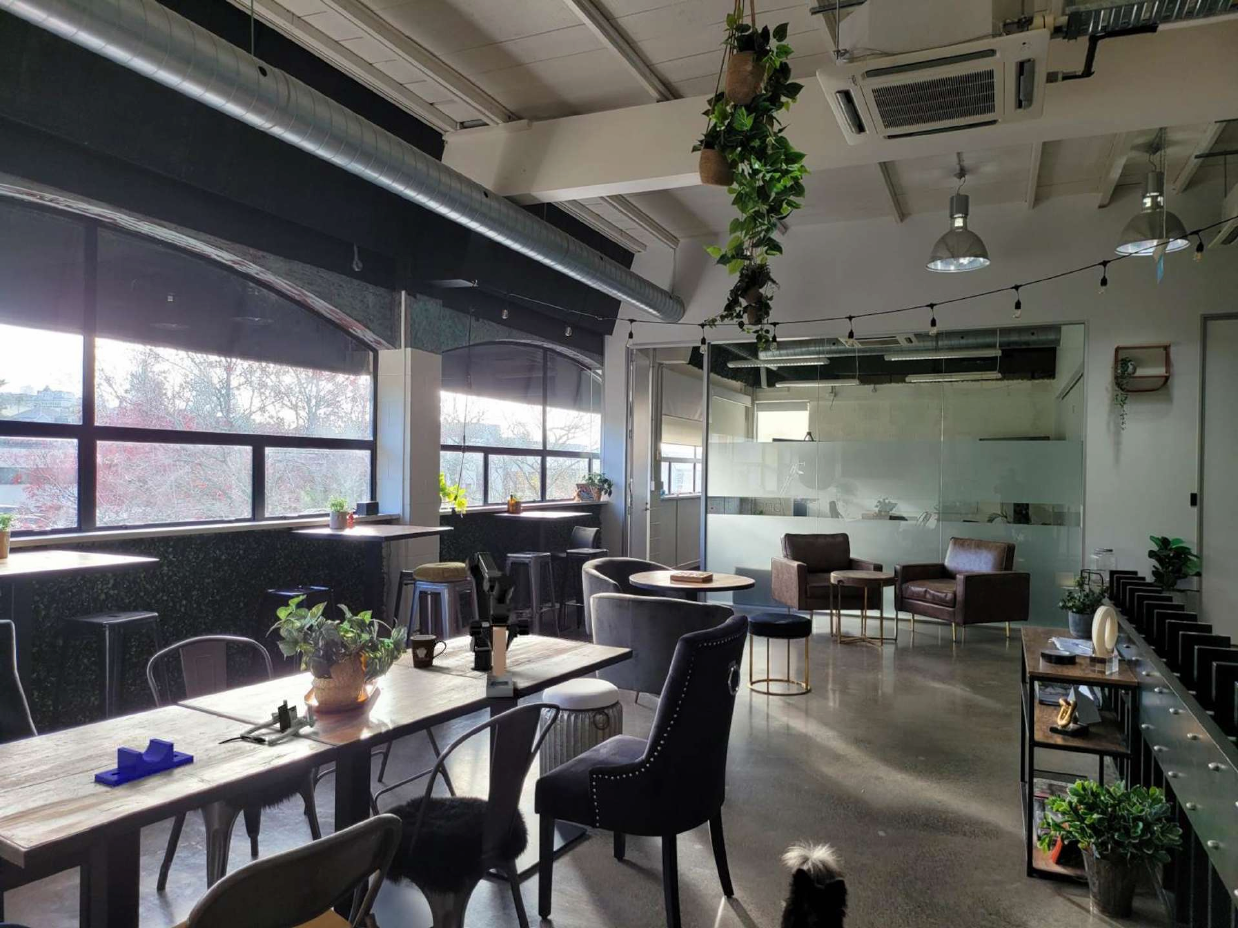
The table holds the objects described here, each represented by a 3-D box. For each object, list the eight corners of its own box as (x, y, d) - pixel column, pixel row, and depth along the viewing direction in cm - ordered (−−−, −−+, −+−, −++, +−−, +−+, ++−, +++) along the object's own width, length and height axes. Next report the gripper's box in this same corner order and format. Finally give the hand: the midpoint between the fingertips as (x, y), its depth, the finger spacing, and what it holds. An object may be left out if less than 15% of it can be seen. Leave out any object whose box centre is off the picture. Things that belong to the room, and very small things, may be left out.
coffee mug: (405, 667, 286) (405, 638, 287) (420, 662, 294) (420, 634, 295) (433, 670, 282) (433, 641, 282) (447, 665, 290) (448, 636, 290)
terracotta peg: (492, 672, 256) (493, 627, 256) (506, 672, 257) (506, 626, 257) (492, 675, 252) (493, 629, 252) (506, 675, 253) (506, 629, 253)
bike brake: (286, 719, 222) (219, 752, 204) (283, 695, 221) (216, 726, 203) (322, 728, 215) (256, 762, 198) (319, 703, 214) (253, 735, 197)
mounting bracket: (113, 788, 175) (113, 760, 176) (94, 782, 179) (94, 754, 179) (193, 763, 191) (193, 737, 191) (174, 758, 195) (174, 732, 195)
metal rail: (487, 681, 267) (487, 673, 267) (512, 680, 268) (512, 672, 269) (486, 697, 248) (486, 688, 248) (513, 696, 249) (513, 687, 249)
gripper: (469, 593, 257) (467, 636, 246) (529, 592, 260) (531, 634, 249) (470, 614, 265) (468, 657, 254) (529, 613, 268) (530, 655, 256)
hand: (499, 650), depth 253 cm, fingers closed on terracotta peg, 4 cm apart
